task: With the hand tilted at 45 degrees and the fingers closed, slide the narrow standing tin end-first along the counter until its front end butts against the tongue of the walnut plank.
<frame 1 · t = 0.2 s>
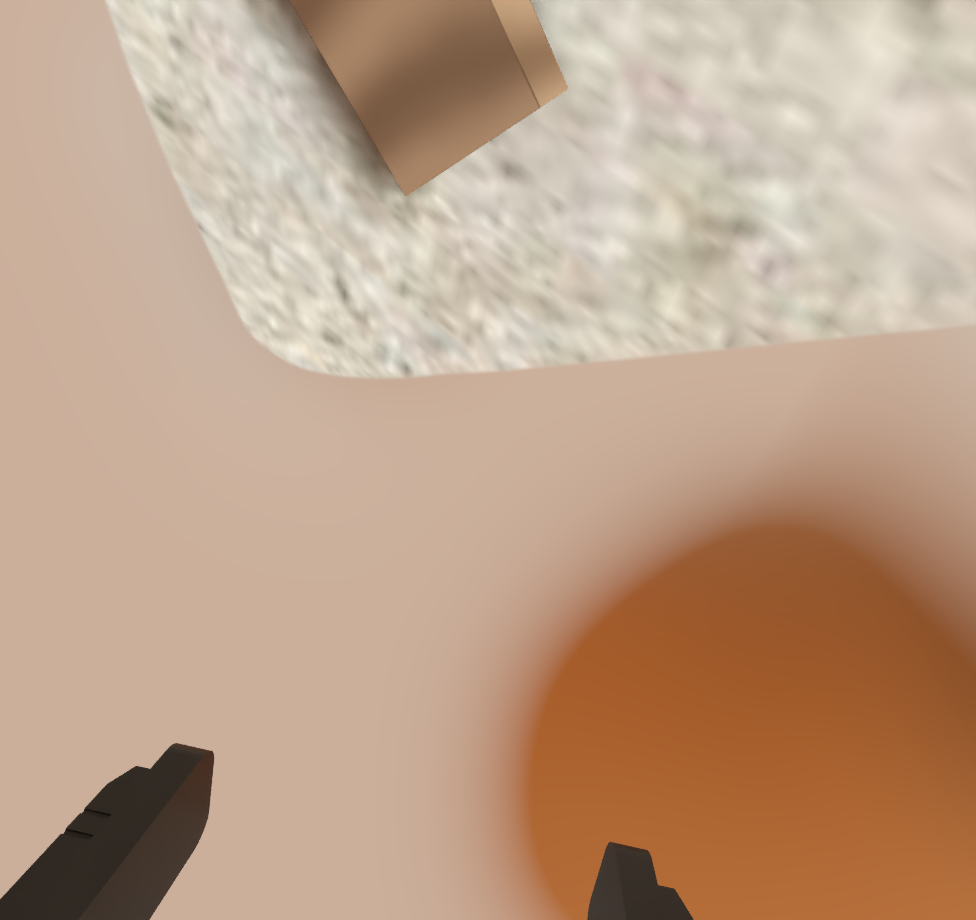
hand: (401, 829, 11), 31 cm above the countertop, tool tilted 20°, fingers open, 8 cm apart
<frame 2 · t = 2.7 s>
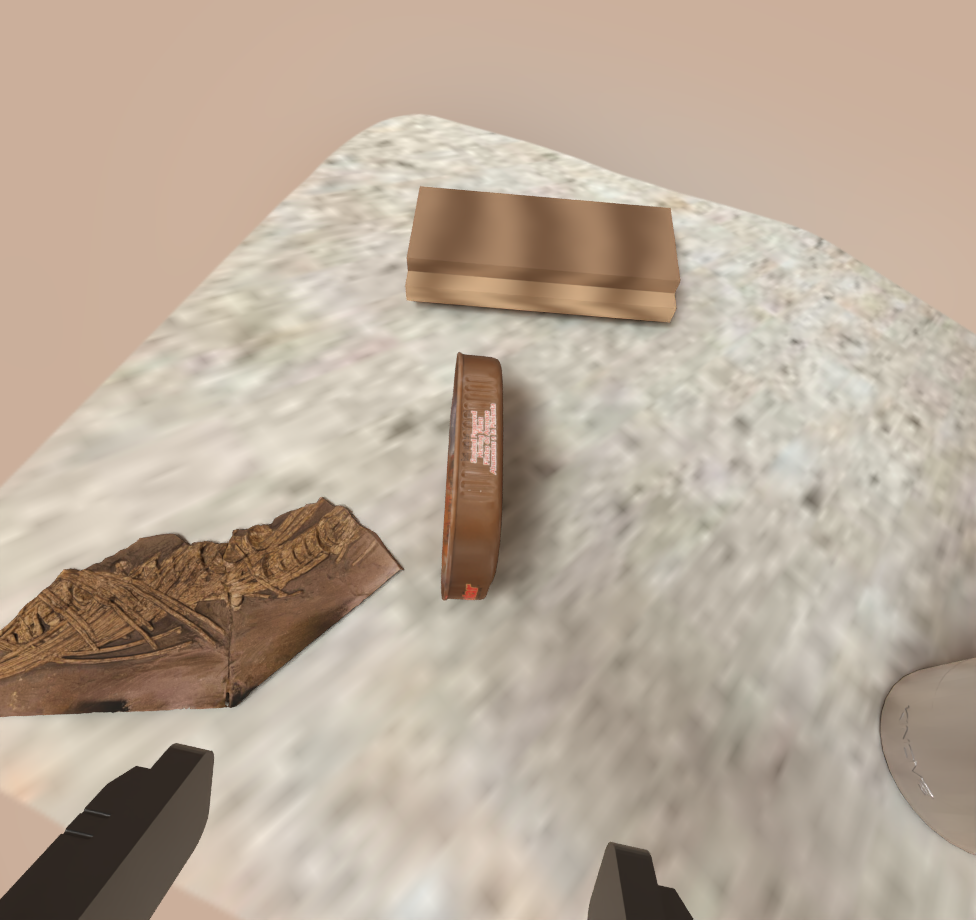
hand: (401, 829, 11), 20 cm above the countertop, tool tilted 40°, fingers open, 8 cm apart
tin: (469, 502, 37), on the countertop
walnut plank: (538, 271, 47), on the countertop
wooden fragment: (179, 624, 33), on the countertop
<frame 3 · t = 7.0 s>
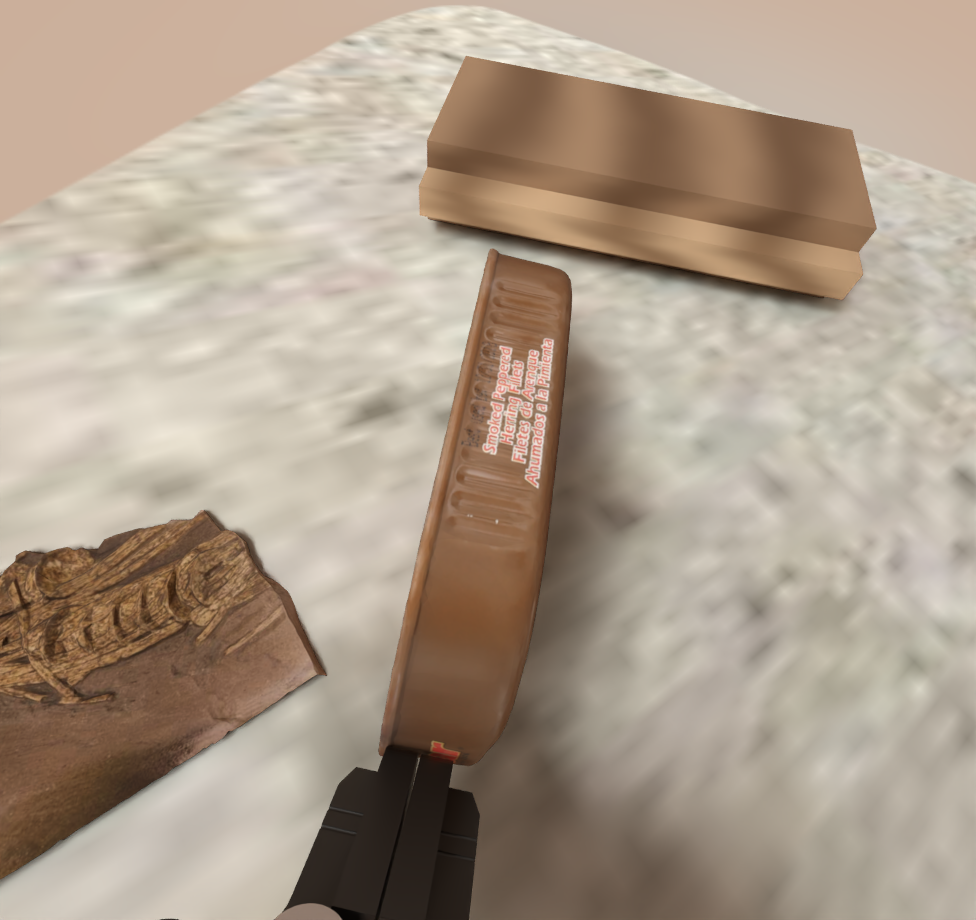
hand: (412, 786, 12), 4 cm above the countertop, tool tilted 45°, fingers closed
tin: (475, 537, 21), on the countertop, touching gripper
walnut plank: (628, 209, 31), on the countertop
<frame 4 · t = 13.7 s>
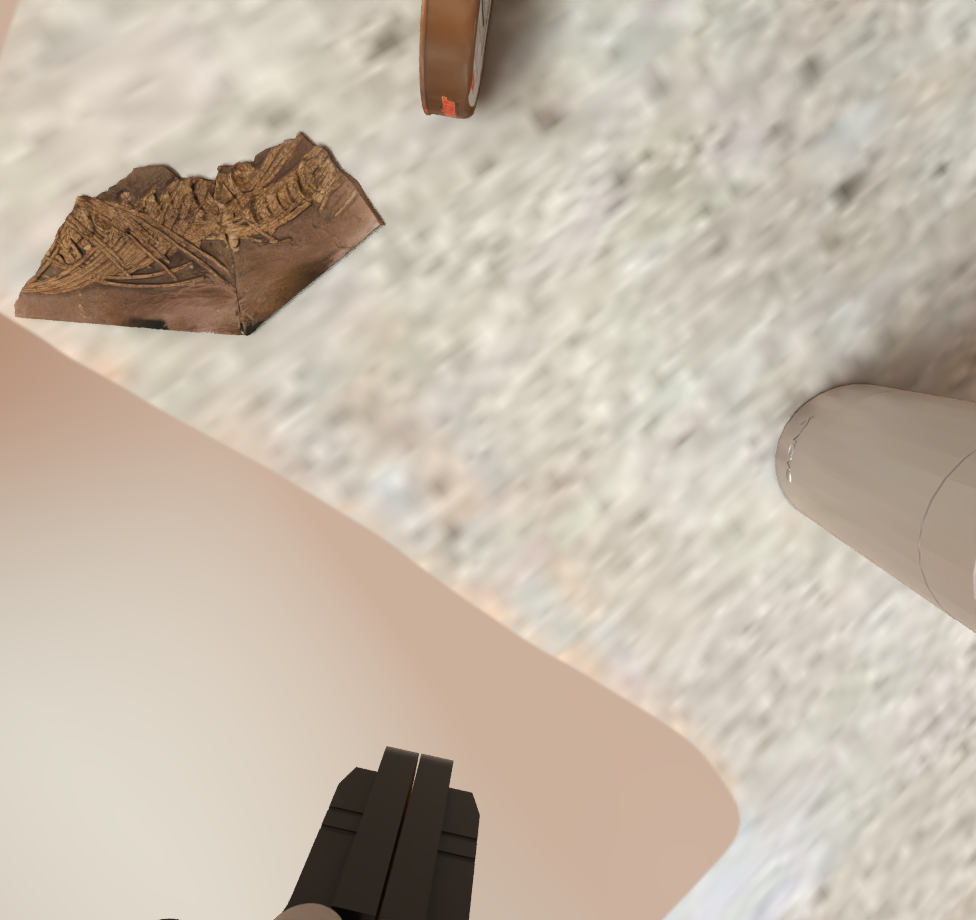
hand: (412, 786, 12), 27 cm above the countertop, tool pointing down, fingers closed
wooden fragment: (191, 257, 37), on the countertop
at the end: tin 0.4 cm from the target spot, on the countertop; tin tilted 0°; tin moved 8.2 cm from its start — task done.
